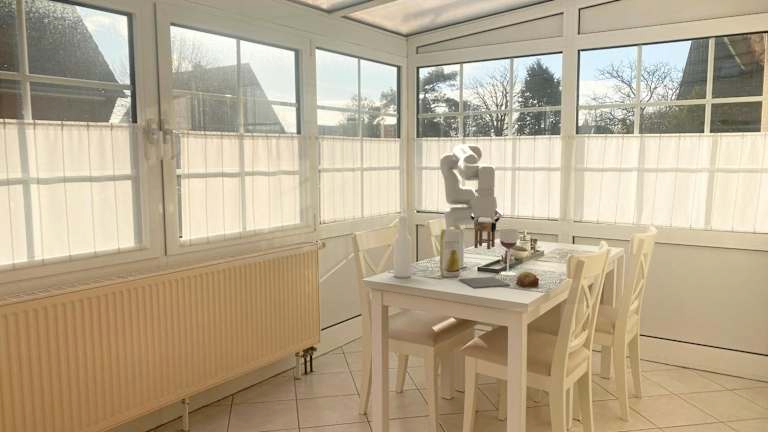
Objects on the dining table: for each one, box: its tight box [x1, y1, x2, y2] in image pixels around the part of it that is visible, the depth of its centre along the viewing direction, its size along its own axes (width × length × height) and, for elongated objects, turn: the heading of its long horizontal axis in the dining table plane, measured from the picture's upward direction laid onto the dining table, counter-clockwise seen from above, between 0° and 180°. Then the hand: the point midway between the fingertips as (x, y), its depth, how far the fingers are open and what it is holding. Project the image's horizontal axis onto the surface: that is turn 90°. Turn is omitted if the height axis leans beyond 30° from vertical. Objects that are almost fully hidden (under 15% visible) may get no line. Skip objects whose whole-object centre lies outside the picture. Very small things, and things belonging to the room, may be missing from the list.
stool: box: [473, 220, 496, 250], centre depth 260 cm, size 7×7×12 cm
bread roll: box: [515, 271, 540, 288], centre depth 259 cm, size 10×10×8 cm
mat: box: [458, 276, 511, 289], centre depth 263 cm, size 17×18×1 cm
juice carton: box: [439, 227, 462, 278], centre depth 277 cm, size 9×8×24 cm
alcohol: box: [393, 214, 413, 279], centre depth 275 cm, size 9×9×30 cm
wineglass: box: [498, 228, 520, 276], centre depth 283 cm, size 9×10×22 cm
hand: (485, 230), depth 260 cm, fingers closed on stool, 7 cm apart
